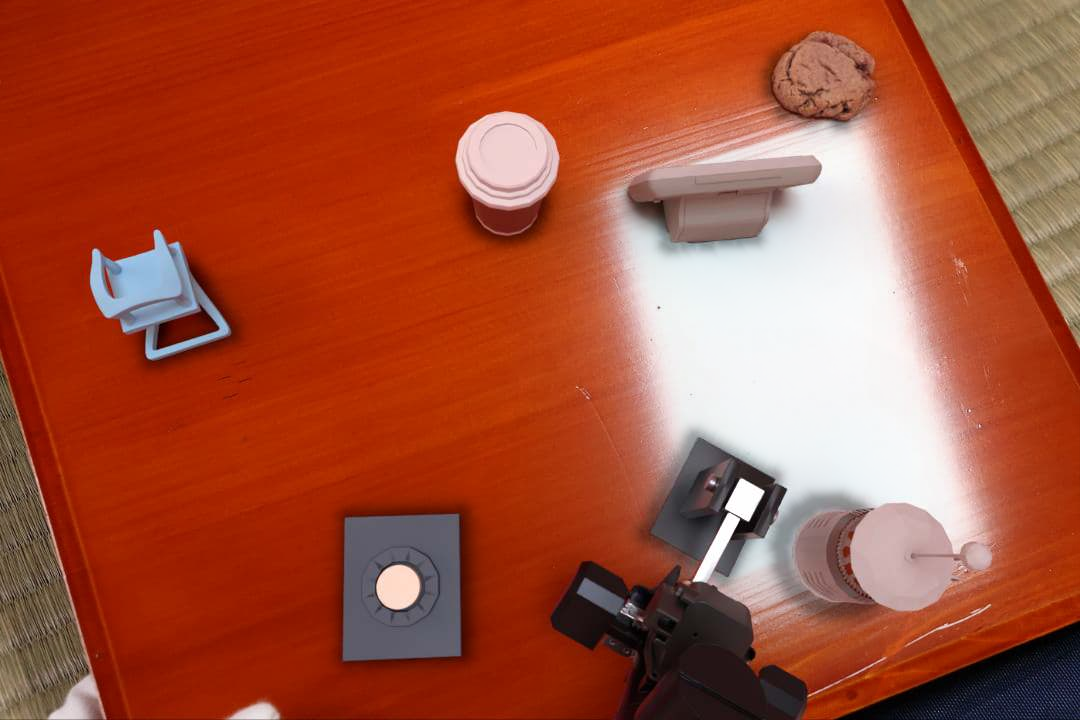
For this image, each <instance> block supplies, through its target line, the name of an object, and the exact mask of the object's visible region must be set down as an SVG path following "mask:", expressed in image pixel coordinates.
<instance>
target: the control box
mask: <svg viewBox="0 0 1080 720" xmlns="http://www.w3.org/2000/svg"><path fill="white" fill-rule="evenodd" d="M343 538H344V542H343V545H344V546H343V601H342V603H343V607H342V609H343V610H342V611H343V612H342V662H356V661H357V662H358V661H383V660H384V661H385V660H405V659H407V660H408V659H432V658H453V657H454V658H455V657H461V656H462V654H463V635H462V631H463V627H462V626H463V625H462V623H463V622H462V560H461V514H460V513H432V514H431V513H430V514H405V515H373V516H372V515H371V516H345V517H344V537H343ZM394 565H407V566H410V567H412V568H413V569H414V570H415V571H416V572H417V573H418V574H419V576H420V579H421V583H422V589H421V593H420V595H419V597H418V599H417V600H416V601H415V602H414V603H413V604H412V605H410V606H409V607H407V608H404V609H399V610H395V609H391V608H388V607H387V606H385V605H384V604H383V603H382V602H381V601H380V599H379V597H378V595H377V589H376V587H377V581H378V579H379V577H380V575H381V574H382V572H383V571H384V570H386V569H387V568H389V567H391V566H394Z"/></svg>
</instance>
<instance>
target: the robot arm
mask: <svg viewBox="0 0 1080 720" xmlns="http://www.w3.org/2000/svg"><path fill="white" fill-rule="evenodd" d="M681 572H682V566H680V565H679V564H676V565H675V566H674V567H673V568H672V570H670V571H669V572H668V573H667V575H666V576H665V577H664V578H663V579H662V580H661V582H659V583H658V584H657V585H655V586H654V587H652V588H649V587H648V586H645V584H641V583H637V584H636V583H635V584H634V585H633V586H632V587H630V589H629V587H628V586H627V584H626V583H625V581H624V579H623V577H621V576H620V575H617V574H616V573H614V572H612V571H611V570H610V569H607V568H606V567H604V566H602V565H600V564H599V563H596V562H595V561H593V560H584V561H581V562H580V564H579V565H578V567H577V568H576V570H575V572H574V573H573V575H572V576H571V578H570V579H569V580H568V583H566V585H565V587H564V588H563V590H562V592H561V594H560V595H559V596H558V598H557V599H556V601H555V602H554V605H553V607H552V609H551V612H550V615H549V620H550V624H551V627H552V629H553V630H555V631H557V632H559V633H560V634H562V635H563V636H565V637H567V638H569V639H571V640H572V641H574V642H576V643H577V644H579V645H581V646H582V647H585V648H586V649H588V650H590V651H591V652H593V651H594V650H595V649H596V647H597V645H598V644H599V643H600V641H601V644H602V645H603V646H605V647H606V648H608V649H610V650H611V651H613V652H614V653H616V654H618V655H619V656H621V657H623V658H627V659H629V658H630V659H631V658H632V660H631V664H630V666H629V667H628V668H627V670H626V672H625V675H624V679H623V682H624V683H625V684H624V686H623V689H622V693H621V696H620V700H619V703H618V706H617V710H616V711H615V712H614V713H613V715H612V717H611V720H802V719H803V717H804V714H805V712H806V710H807V708H808V693H809V689H808V687H807V683H806V681H804V680H802V679H801V678H799V677H798V676H795V675H793V674H792V673H790V672H788V671H786V670H784V669H783V668H781V667H779V666H778V665H776V664H774V663H773V664H768V665H765V666H762V668H761V669H759V671H758V674H756V672H755V671H754V669H753V668H752V667H751V666H750V663H751V662H752V661H753V660H754V659H755V658H756V656H757V652H756V650H755V649H754V647H753V646H752V644H753V642H754V639H755V635H754V627H753V621H752V614H751V610H750V608H749V607H748V606H747V605H746V604H744V603H743V602H741V601H739V600H736V599H734V598H732V597H730V596H728V595H727V594H725V593H723V592H721V591H719V589H718V587H717V586H716V585H711V584H709V583H708V582H707V583H705V582H701V581H697V582H694V583H692V584H690V585H689V586H688V585H686V584H684V583H683V582H681V580H679V579H680V576H681ZM679 581H680V582H679ZM677 582H679V583H678V585H677V586H676V584H677ZM675 586H676V587H675Z"/></svg>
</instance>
